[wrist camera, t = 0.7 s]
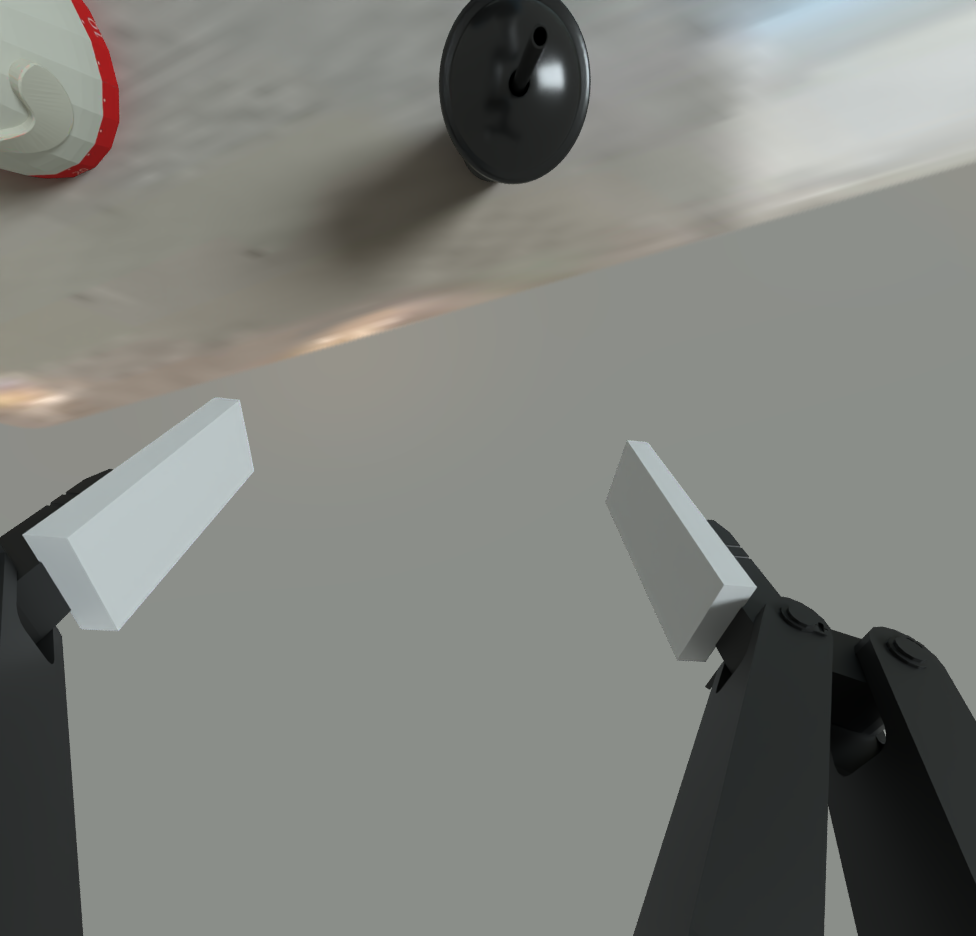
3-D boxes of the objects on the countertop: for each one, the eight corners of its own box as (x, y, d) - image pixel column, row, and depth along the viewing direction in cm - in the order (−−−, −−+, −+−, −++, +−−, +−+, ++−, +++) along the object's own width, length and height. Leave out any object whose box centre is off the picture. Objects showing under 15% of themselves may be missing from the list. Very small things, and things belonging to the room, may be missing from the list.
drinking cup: (498, 224, 35) (545, 210, 18) (423, 153, 32) (392, 53, 15) (559, 136, 32) (685, 18, 15) (484, 51, 30) (532, -215, 12)
